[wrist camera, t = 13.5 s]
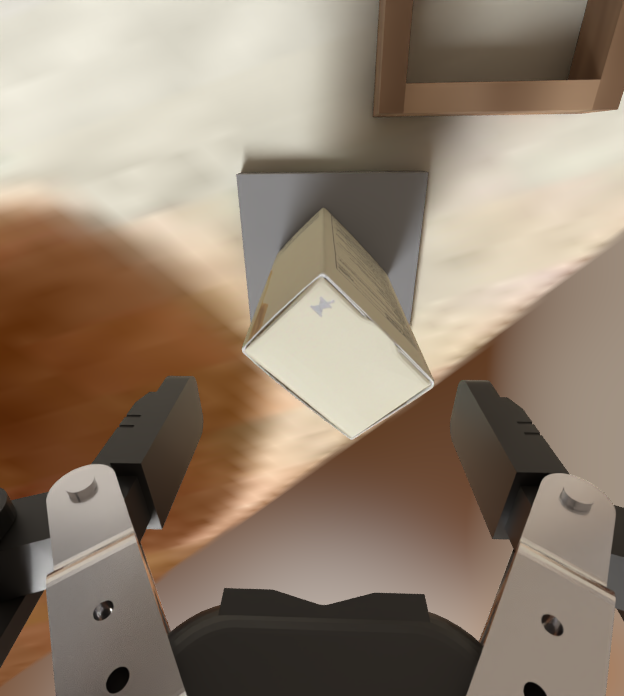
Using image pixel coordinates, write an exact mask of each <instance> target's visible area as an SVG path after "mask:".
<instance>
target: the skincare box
mask: <svg viewBox="0 0 624 696" xmlns="http://www.w3.org/2000/svg"><path fill="white" fill-rule="evenodd" d="M242 352H243V353H244V354H245V355H246V356H247V357H248V358H250V359H251V360H252V361H253V362H254V363H255V364H256V365H257V366H258V367H260V368H261V369H262V370H263V371H264V372H265V373H266V374H268V375H269V376H270V377H271V378H272V379H274V380H275V381H276V382H277V383H278V384H280V385H281V386H282V387H283V388H284V389H286V390H287V391H288V392H290V393H291V394H292V395H293V396H294V397H296V398H297V399H298V400H299V401H301V402H302V403H303V404H305V405H306V406H307V407H308V408H310V409H311V410H312V411H313V412H315V413H316V414H317V415H319V416H320V417H321V418H322V419H324V420H325V421H326V422H328V423H329V424H331V425H332V426H333V427H334V428H336V429H337V430H339V431H340V432H341V433H342V434H344V435H345V436H346V437H348V438H349V439H354V438H356V437H358V436H359V435H361V434H362V433H364V432H365V431H367V430H368V429H370V428H372V427H373V426H375V425H376V424H378V423H379V422H381V421H383V420H384V419H386V418H388V417H389V416H391V415H392V414H393V413H395V412H396V411H398V410H399V409H401V408H403V407H404V406H406V405H407V404H409V403H410V402H412V401H413V400H415V399H416V398H418V397H419V396H421V395H422V394H424V393H425V392H427V391H429V390H430V389H431V388H432V387H433V386H434V380H433V377H432V375H431V373H430V371H429V368H428V366H427V364H426V362H425V359H424V357H423V355H422V353H421V350H420V348H419V346H418V344H417V341H416V339H415V337H414V334H413V332H412V330H411V328H410V325H409V323H408V321H407V319H406V316H405V314H404V312H403V310H402V307H401V305H400V303H399V301H398V298H397V296H396V294H395V292H394V289H393V287H392V285H391V282H390V280H389V278H388V276H387V274H386V273H385V271H384V270H383V269H382V268H381V267H380V266H379V264H378V263H377V262H376V261H375V260H374V259H373V258H372V257H371V255H370V254H369V253H368V252H367V251H366V250H365V249H364V248H363V247H362V246H361V245H360V244H359V242H358V241H357V240H356V239H355V238H354V237H353V236H352V235H351V234H350V233H349V232H348V231H347V230H346V229H345V228H344V227H343V226H342V225H341V224H340V223H339V222H338V221H337V219H335V218H334V217H333V216H332V215H331V214H330V213H329V212H328V211H327V210H326V209H325V208H322V209H321V210H319V211H318V212H317V213H316V214H315V215H314V216H313V217H312V218H311V219H310V220H309V221H308V222H307V223H306V224H305V225H304V226H303V227H302V228H301V229H300V230H299V231H298V232H297V233H296V234H295V235H294V236H293V237H292V238H291V239H290V240H289V241H288V242H287V243H286V244H285V246H284V247H283V248H282V249H281V250H280V251H279V252H278V254H277V256H276V259H275V261H274V264H273V266H272V269H271V272H270V274H269V277H268V280H267V282H266V285H265V287H264V290H263V292H262V295H261V298H260V300H259V303H258V306H257V308H256V311H255V314H254V316H253V319H252V322H251V325H250V327H249V330H248V332H247V335H246V338H245V341H244V344H243V346H242Z"/></svg>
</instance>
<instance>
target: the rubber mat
mask: <svg viewBox="0 0 624 696" xmlns="http://www.w3.org/2000/svg"><path fill="white" fill-rule="evenodd" d="M236 176H237V186H238V196H239V207H240V217H241V227H242V237H243V248H244V258H245V268H246V278H247V289H248V299H249V309H250V320H251V322H252V319H253V316H254V314H255V311H256V308H257V306H258V303H259V300H260V298H261V295H262V292H263V290H264V287H265V285H266V282H267V280H268V277H269V274H270V272H271V269H272V266H273V264H274V261H275V259H276V256H277V254H278V252H279V251H280V250H281V249H282V248H283V247H284V246H285V244H286V243H287V242H288V241H289V240H290V239H291V238H292V237H293V236H294V235H295V234H296V233H297V232H298V231H299V230H300V229H301V228H302V227H303V226H304V225H305V224H306V223H307V222H308V221H309V220H310V219H311V218H312V217H313V216H314V215H315V214H316V213H317V212H318V211H319V210H321V209H322V208H325V209H326V210H327V211H328V212H329V213H330V214H331V215H332V216H333V217H334V218H335V219H337V221H338V222H339V223H340V224H341V225H342V226H343V227H344V228H345V229H346V230H347V231H348V232H349V233H350V234H351V235H352V236H353V237H354V238H355V239H356V240H357V241H358V242H359V244H360V245H361V246H362V247H363V248H364V249H365V250H366V251H367V252H368V253H369V254H370V255H371V257H372V258H373V259H374V260H375V261H376V262H377V263H378V264H379V266H380V267H381V268H382V269H383V270H384V271H385V273H386V274H387V276H388V278H389V280H390V282H391V285H392V287H393V289H394V292H395V294H396V296H397V298H398V301H399V303H400V305H401V307H402V310H403V312H404V314H405V316H406V319H407V321H408V323H409V325H410V319H411V311H412V303H413V295H414V287H415V278H416V270H417V262H418V254H419V246H420V238H421V230H422V222H423V213H424V205H425V197H426V189H427V181H428V172H425V171H388V172H286V173H239V174H236Z"/></svg>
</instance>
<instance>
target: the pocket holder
mask: <svg viewBox="0 0 624 696" xmlns="http://www.w3.org/2000/svg"><path fill="white" fill-rule="evenodd" d="M412 10H413V0H379V16H378V34H377V52H376V70H375V88H374V106H373V117H399V116H461V115H524V114H582V113H591V112H600V111H608V110H617V109H618V107H619V104H620V101H621V98H622V94H623V91H624V0H588V2H587V6H586V10H585V14H584V18H583V22H582V26H581V30H580V34H579V38H578V41H577V45H576V49H575V53H574V57H573V61H572V65H571V69H570V73H569V77H568V80H550V81H500V82H449V83H406V78H407V67H408V55H409V44H410V33H411V21H412Z"/></svg>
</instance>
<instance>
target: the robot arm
mask: <svg viewBox="0 0 624 696" xmlns="http://www.w3.org/2000/svg"><path fill="white" fill-rule="evenodd" d="M202 429H203V414H202V409H201V404H200V398H199V393H198V388H197V383H196V379H195V378H194V377H193V376H168V377H166V379H165V380H164V382H163V383H162V385H161V386H160V388H159V389H158V391H157V392H149V393H148V394H146V395H145V396H144V397H142V398H141V399H140V400H138V401H137V402H135V404H134V405H133V407H132V408H131V409H130V411H129V412H128V414H127V417H125V418H124V419H123V421H122V422H121V423H120V426H119V428H117V429H116V430H115V432H114V433H113V435H112V436H111V437H110V439H109V440H108V442H107V443H106V444H105V446H104V447H103V449H102V450H101V451H100V453H99V454H98V456H97V457H96V458H95V460H94V461H93V463H92V464H91V465H87V466H83V467H80V468H77V469H75V470H73V471H71V472H69V473H68V474H66V475H64V476H63V477H62V478H60V479H59V480H58V481H57V482H56V483H55V484H54V485H53V486H52V488H51V489H50V491H49V492H46V493H42V494H37V495H33V496H29V497H24V498H20V499H16V500H10V498H9V496H8V495H7V493H6V491H5V490H4V489H2V488H0V667H1V666H2V664H3V662H4V660H5V659H6V657H7V655H8V653H9V651H10V650H11V648H12V646H13V644H14V643H15V641H16V639H17V637H18V635H19V634H20V632H21V630H22V628H23V627H24V625H25V623H26V621H27V619H28V618H29V616H30V614H31V612H32V611H33V609H34V607H35V605H36V604H37V602H38V600H39V598H40V596H41V595H42V593H43V591H44V590H45V589H46V594H47V605H48V616H49V627H50V638H51V649H52V659H53V671H54V681H55V692H56V696H606V687H607V677H608V668H609V659H610V650H611V640H612V631H613V622H614V613H615V608H617V610H618V612H619V613H620V615H621V617H622V619H623V621H624V508H622V507H619V506H615V505H613V503H612V502H611V500H610V499H609V497H607V495H606V494H605V493H604V492H602V491H601V490H600V489H599V488H597V487H596V486H595V485H593V484H591V483H590V482H588V481H586V480H584V479H582V478H579V477H577V476H573V475H570V474H569V473H568V471H567V470H566V469H565V467H564V466H563V464H562V463H561V462H560V460H559V459H558V457H557V456H556V455H555V453H554V452H553V450H552V449H551V448H550V447H549V445H548V443H547V442H546V441H545V439H544V438H543V436H541V435H540V432H539V431H538V430H537V428H536V427H535V425H534V424H532V421H531V420H530V418H529V417H528V416H527V414H526V413H525V411H524V410H523V409H522V408H521V407H519V406H518V405H517V404H515V403H514V402H513V401H511V400H510V399H509V398H507V397H506V398H505V397H500V396H499V395H498V393H497V392H496V390H495V389H494V387H493V386H492V384H491V383H490V382H489V381H487V380H461V381H460V383H459V385H458V388H457V393H456V398H455V403H454V407H453V411H452V416H451V421H450V433H451V439H452V442H453V444H454V447H455V449H456V452H457V454H458V456H459V459H460V461H461V464H462V466H463V469H464V471H465V473H466V476H467V478H468V481H469V483H470V486H471V488H472V490H473V493H474V495H475V498H476V500H477V503H478V505H479V507H480V510H481V512H482V515H483V517H484V520H485V522H486V524H487V527H488V529H489V532H490V534H491V536H492V539H510V542H511V544H512V546H513V548H514V549H513V551H512V554H511V556H510V559H509V562H508V565H507V567H506V570H505V573H504V576H503V578H502V581H501V584H500V586H499V589H498V592H497V594H496V597H495V600H494V603H493V605H492V608H491V611H490V614H489V616H488V619H487V622H486V624H485V627H484V629H483V632H482V634H481V637H480V639H479V641H477V640H476V639H475V638H474V637H473V636H472V635H470V634H469V633H468V632H466V631H465V630H463V629H462V628H461V627H459V626H457V625H456V624H454V623H452V622H450V621H449V620H447V619H445V618H443V617H441V616H438V615H436V614H433V613H430V612H428V609H427V604H426V599H425V595H424V594H396V593H372V594H368V595H364V596H360V597H357V598H352V599H349V600H345V601H341V602H337V603H333V604H329V605H319V604H316V603H312V602H309V601H306V600H303V599H300V598H297V597H294V596H291V595H288V594H285V593H281V592H278V591H275V590H264V589H233V588H224V592H223V596H222V601H221V605H219V606H215V607H212V608H210V609H207V610H205V611H202V612H200V613H198V614H196V615H194V616H193V617H191V618H189V619H188V620H186V621H185V622H183V623H182V624H180V625H179V626H177V627H176V628H175V629H174V630H172V631H171V630H170V627H169V624H168V621H167V619H166V615H165V613H164V610H163V607H162V604H161V601H160V598H159V595H158V592H157V589H156V586H155V583H154V580H153V577H152V574H151V571H150V568H149V565H148V562H147V559H146V556H145V553H144V550H143V547H142V544H141V542H140V541H141V539H142V537H143V535H144V533H145V530H146V529H162V528H163V526H164V523H165V521H166V518H167V516H168V514H169V511H170V509H171V506H172V504H173V502H174V499H175V497H176V494H177V492H178V490H179V487H180V485H181V482H182V480H183V478H184V475H185V473H186V470H187V468H188V466H189V463H190V461H191V459H192V456H193V454H194V451H195V449H196V447H197V444H198V442H199V439H200V437H201V434H202Z"/></svg>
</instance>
